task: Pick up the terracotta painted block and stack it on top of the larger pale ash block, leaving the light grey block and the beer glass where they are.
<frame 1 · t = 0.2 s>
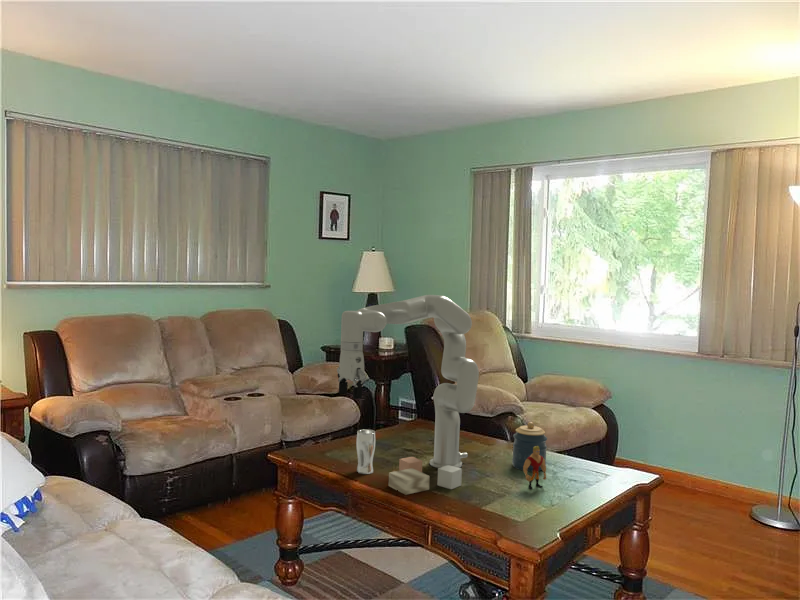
hand: (350, 395, 221), 31 cm above the table, fingers open, 9 cm apart
ash base block: (408, 488, 220), on the table
canister: (528, 467, 249), on the table
grey block: (449, 485, 224), on the table
beer glass: (364, 472, 236), on the table
terracotta block: (410, 476, 233), on the table
action figure: (534, 488, 225), on the table
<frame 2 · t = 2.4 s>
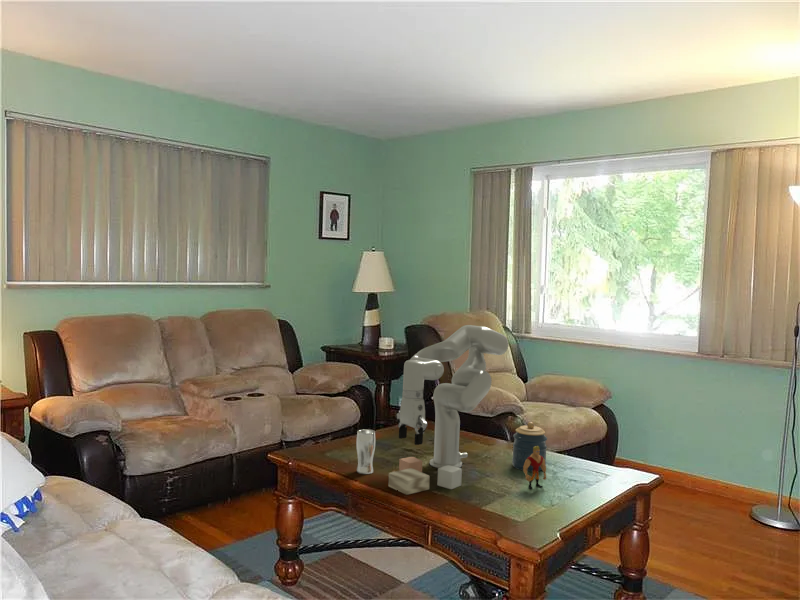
hand: (410, 441, 232), 13 cm above the table, fingers open, 9 cm apart
nothing on the table moved.
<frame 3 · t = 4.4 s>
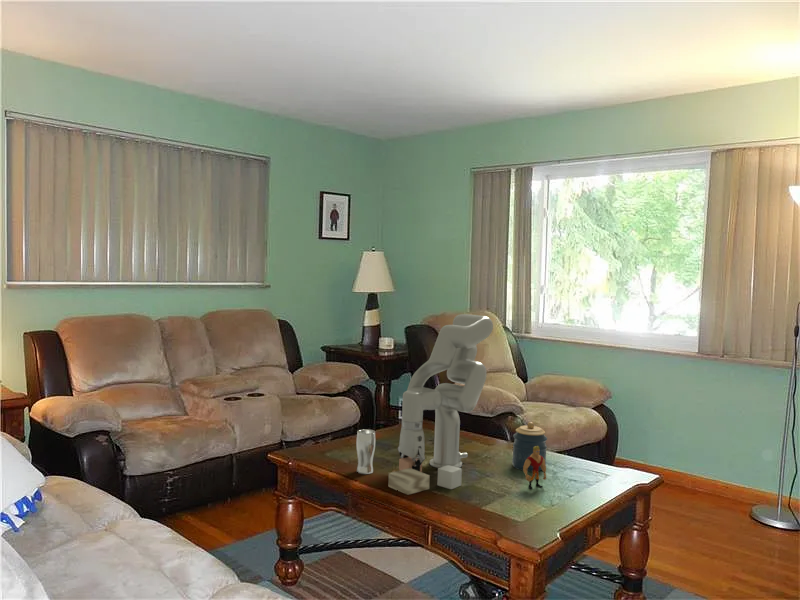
hand: (410, 473, 233), 1 cm above the table, fingers closed on terracotta block, 6 cm apart
terracotta block: (410, 475, 233), on the table, touching gripper
everything else where it was.
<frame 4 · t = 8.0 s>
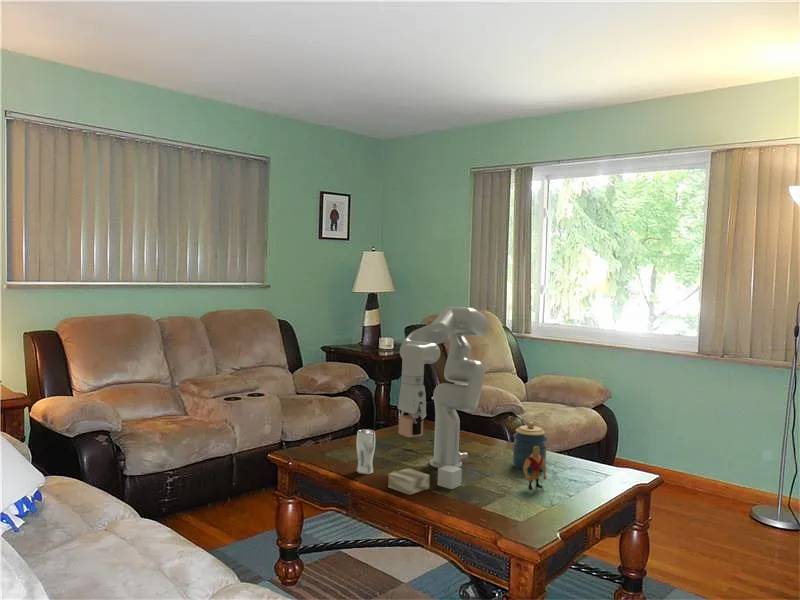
hand: (410, 431, 219), 19 cm above the table, fingers closed on terracotta block, 6 cm apart
terracotta block: (410, 434, 219), point 19 cm above the table, touching gripper
everything else where it was.
when the fingers open (6 cm above the table, at t = 11.6 s): terracotta block stays where it is, point 5 cm above the table.
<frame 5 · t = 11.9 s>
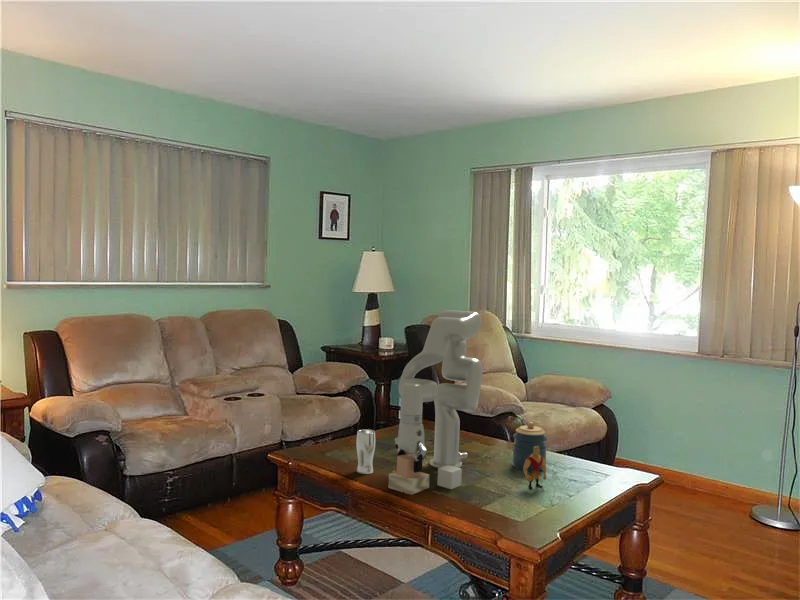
hand: (409, 467, 220), 7 cm above the table, fingers open, 9 cm apart
terracotta block: (408, 474, 220), point 5 cm above the table
everything else where it was.
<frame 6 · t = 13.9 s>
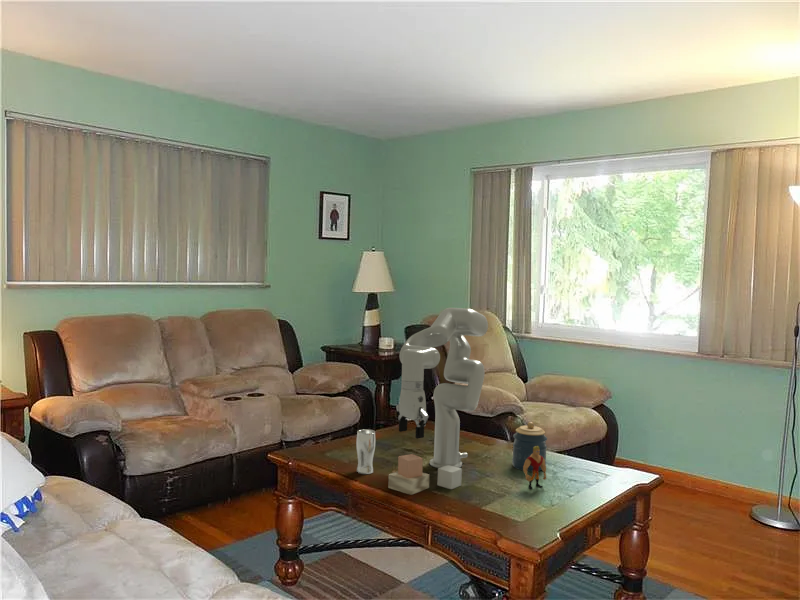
hand: (411, 434, 220), 18 cm above the table, fingers open, 9 cm apart
ash base block: (408, 488, 220), on the table, touching terracotta block
terracotta block: (410, 474, 220), point 5 cm above the table, touching ash base block
everything else where it was.
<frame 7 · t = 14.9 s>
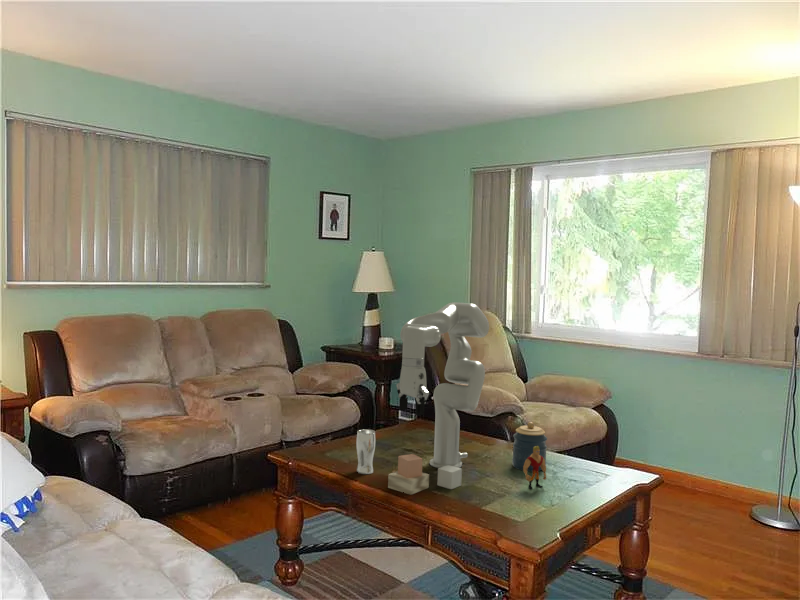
hand: (411, 412, 219), 26 cm above the table, fingers open, 9 cm apart
nothing on the table moved.
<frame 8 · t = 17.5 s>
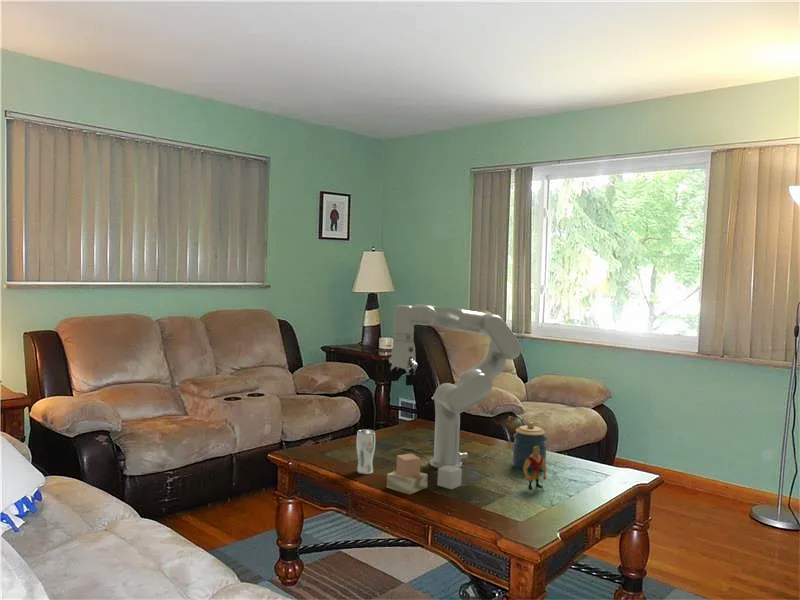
hand: (401, 383, 241), 32 cm above the table, fingers open, 9 cm apart
at the end: terracotta block 0.2 cm off-centre on the ash base block, point 5.0 cm above the ash base block's base; terracotta block tilted 0°; the gripper is holding nothing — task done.
